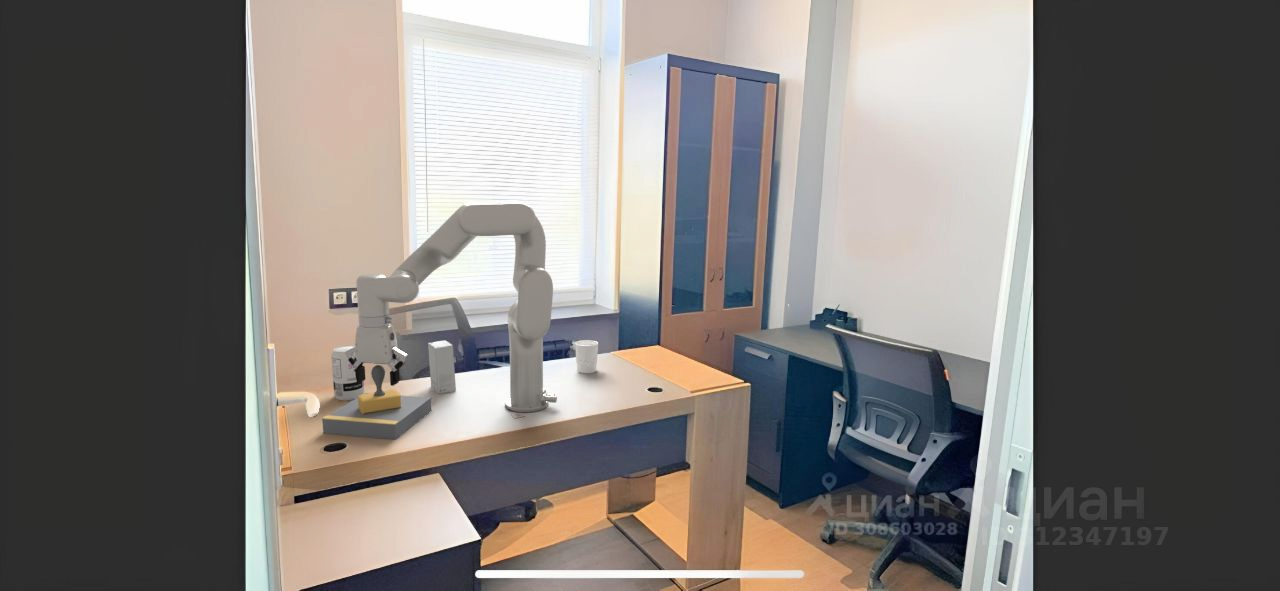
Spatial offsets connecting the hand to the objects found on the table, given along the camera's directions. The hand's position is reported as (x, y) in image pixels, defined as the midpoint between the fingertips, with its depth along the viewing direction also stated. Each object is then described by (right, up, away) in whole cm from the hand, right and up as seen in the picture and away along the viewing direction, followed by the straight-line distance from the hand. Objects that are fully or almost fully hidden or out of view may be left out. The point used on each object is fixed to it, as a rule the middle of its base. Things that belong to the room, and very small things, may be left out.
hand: (377, 382), depth 171 cm
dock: (0, -11, +2) cm, 11 cm away
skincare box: (+9, -6, +29) cm, 31 cm away
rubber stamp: (0, -7, +1) cm, 7 cm away
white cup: (+52, -3, +51) cm, 73 cm away
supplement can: (-17, -7, +20) cm, 27 cm away
